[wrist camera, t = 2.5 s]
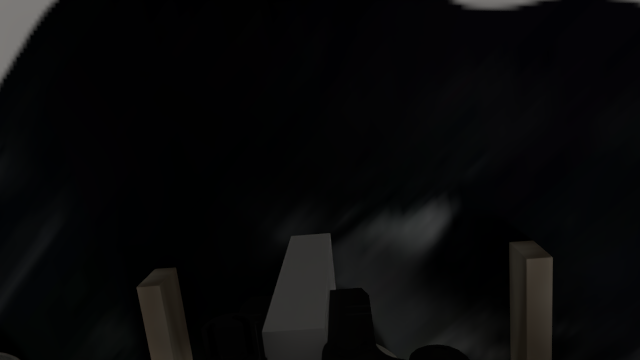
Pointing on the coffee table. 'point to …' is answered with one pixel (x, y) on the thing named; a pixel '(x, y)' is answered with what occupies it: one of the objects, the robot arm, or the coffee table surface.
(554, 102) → the coffee table surface
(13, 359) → the lidded jar
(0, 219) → the coffee table surface
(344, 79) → the coffee table surface
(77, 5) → the coffee table surface
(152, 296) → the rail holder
